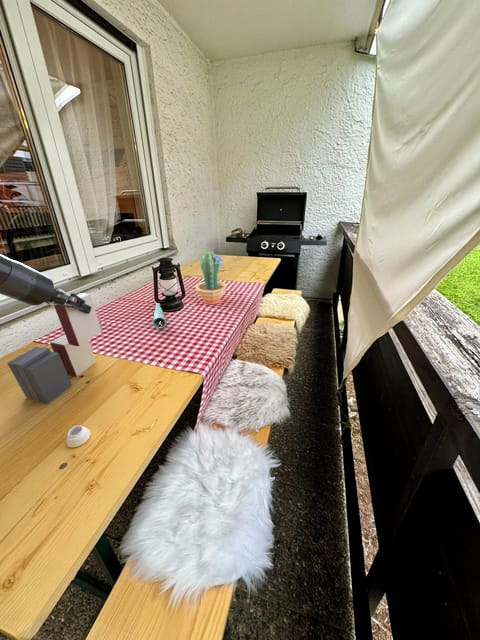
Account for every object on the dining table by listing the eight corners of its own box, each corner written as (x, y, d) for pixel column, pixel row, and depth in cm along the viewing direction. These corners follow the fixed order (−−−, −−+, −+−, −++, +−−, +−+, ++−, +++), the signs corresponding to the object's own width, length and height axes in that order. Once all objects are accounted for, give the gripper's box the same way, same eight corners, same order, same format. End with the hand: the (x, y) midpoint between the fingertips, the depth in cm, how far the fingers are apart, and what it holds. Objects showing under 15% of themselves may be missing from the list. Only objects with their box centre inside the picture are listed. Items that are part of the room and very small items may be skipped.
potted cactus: (209, 310, 123) (204, 257, 111) (191, 300, 133) (185, 252, 121) (233, 300, 132) (231, 251, 120) (214, 292, 142) (211, 246, 130)
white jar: (77, 428, 64) (62, 446, 60) (73, 420, 63) (57, 438, 59) (95, 431, 63) (81, 450, 59) (92, 423, 62) (77, 441, 58)
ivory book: (69, 344, 71) (53, 304, 65) (92, 329, 78) (80, 292, 72) (78, 346, 70) (63, 306, 64) (101, 331, 77) (90, 294, 71)
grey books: (26, 397, 74) (6, 361, 68) (51, 379, 81) (35, 345, 75) (47, 404, 72) (28, 367, 66) (72, 385, 78) (57, 349, 72)
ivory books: (63, 373, 83) (49, 342, 78) (84, 359, 90) (72, 329, 84) (76, 377, 82) (63, 345, 76) (96, 361, 89) (86, 331, 83)
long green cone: (161, 293, 128) (165, 316, 106) (163, 303, 131) (167, 328, 108) (150, 294, 127) (151, 318, 104) (152, 304, 129) (153, 330, 107)
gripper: (51, 269, 55) (108, 299, 71) (5, 264, 59) (69, 294, 75) (37, 302, 53) (99, 325, 69) (-10, 295, 57) (59, 319, 73)
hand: (83, 309), depth 72 cm, fingers closed on ivory book, 3 cm apart
